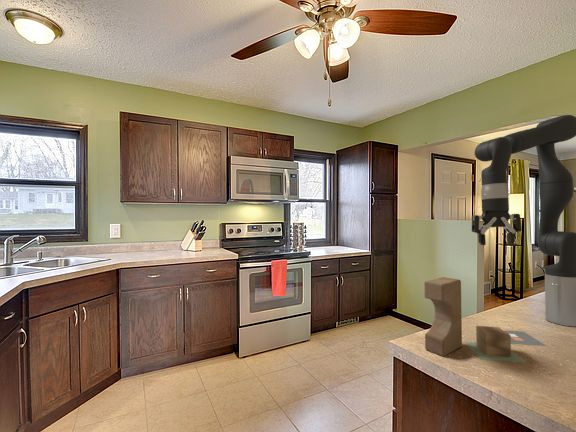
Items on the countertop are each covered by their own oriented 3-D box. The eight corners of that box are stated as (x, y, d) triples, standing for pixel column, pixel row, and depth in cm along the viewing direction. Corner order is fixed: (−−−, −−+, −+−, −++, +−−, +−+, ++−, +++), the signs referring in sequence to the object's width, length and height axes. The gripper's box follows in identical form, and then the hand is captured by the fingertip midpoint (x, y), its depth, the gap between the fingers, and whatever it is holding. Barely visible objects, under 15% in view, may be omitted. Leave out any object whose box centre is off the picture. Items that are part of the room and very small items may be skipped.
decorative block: (443, 357, 78) (442, 284, 79) (423, 349, 83) (423, 281, 83) (463, 347, 84) (462, 279, 85) (443, 340, 89) (443, 276, 89)
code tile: (523, 332, 95) (523, 331, 95) (546, 346, 84) (546, 345, 84) (487, 329, 97) (487, 329, 97) (505, 343, 87) (505, 343, 87)
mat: (503, 344, 86) (503, 344, 86) (527, 363, 75) (527, 362, 75) (463, 342, 88) (463, 341, 88) (480, 359, 77) (480, 359, 77)
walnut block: (498, 347, 84) (498, 327, 84) (510, 357, 78) (510, 335, 78) (476, 345, 85) (476, 325, 85) (486, 355, 79) (486, 333, 79)
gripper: (511, 197, 100) (513, 243, 100) (467, 199, 102) (468, 244, 102) (525, 195, 92) (527, 245, 92) (477, 197, 95) (479, 246, 95)
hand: (496, 244), depth 97 cm, fingers open, 8 cm apart
